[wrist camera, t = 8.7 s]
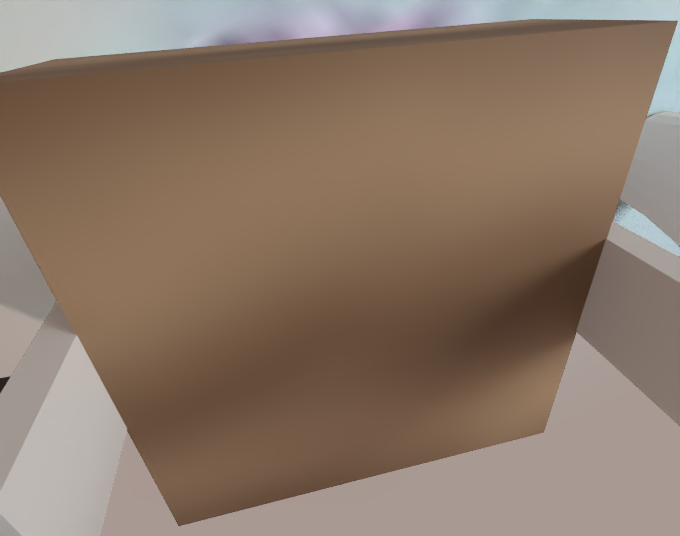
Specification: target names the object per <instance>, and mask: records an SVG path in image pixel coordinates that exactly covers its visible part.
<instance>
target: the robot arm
mask: <svg viewBox="0 0 680 536" xmlns="http://www.w3.org/2000/svg"><path fill="white" fill-rule="evenodd" d="M576 332H577V333H579V334H580V335H581V336H582V337H583V338H584V339H585V340H586V341H587V342H589V344H591V345H592V346H593V347H594V348H595V349H596V350H597V351H598V352H599V353H600V354H602V355H603V356H604V357H605V358H606V359H607V360H608V361H609V362H610V363H611V364H612V365H614V366H615V367H616V368H617V369H618V370H619V371H620V372H621V373H622V374H623V375H625V376H626V377H627V378H628V379H629V380H630V381H631V382H632V383H633V384H634V385H635V386H636V387H638V388H639V389H640V390H641V391H642V392H643V393H644V394H645V395H646V396H647V397H648V398H650V399H651V400H652V401H653V402H654V403H655V404H656V405H657V406H658V407H659V408H660V409H662V410H663V411H664V412H665V413H666V414H667V415H668V416H669V417H670V418H671V419H672V420H674V421H675V422H676V423H677V424H678V425H679V426H680V257H678V256H676V255H674V254H672V253H670V252H669V251H667V250H665V249H663V248H661V247H659V246H658V245H656V244H654V243H652V242H650V241H648V240H646V239H645V238H643V237H641V236H639V235H637V234H635V233H633V232H632V231H630V230H628V229H626V228H624V227H622V226H620V225H619V224H617V223H615V222H613V221H612V224H611V228H610V231H609V234H608V237H607V239H606V241H605V244H604V247H603V250H602V253H601V256H600V259H599V262H598V265H597V268H596V271H595V275H594V278H593V281H592V284H591V287H590V290H589V293H588V296H587V299H586V302H585V305H584V308H583V311H582V315H581V318H580V321H579V324H578V327H577V330H576ZM126 432H127V427H126V425H125V424H124V422H123V420H122V418H121V416H120V414H119V412H118V411H117V409H116V407H115V405H114V403H113V401H112V399H111V397H110V396H109V394H108V392H107V390H106V388H105V386H104V384H103V383H102V381H101V379H100V377H99V375H98V373H97V371H96V370H95V368H94V366H93V364H92V362H91V360H90V358H89V357H88V355H87V353H86V351H85V349H84V347H83V345H82V344H81V342H80V340H79V338H78V336H77V335H75V333H74V331H73V329H72V328H71V326H70V324H69V322H68V320H67V318H66V316H65V315H64V313H63V311H62V309H61V307H60V305H59V303H58V302H56V303H55V305H54V307H53V308H52V310H51V312H50V313H49V315H48V316H47V318H46V320H45V321H44V323H43V325H42V326H41V328H40V330H39V331H38V333H37V334H36V336H35V338H34V339H33V341H32V343H31V344H30V346H29V348H28V349H27V351H26V353H25V354H24V356H23V357H22V359H21V361H20V362H19V364H18V365H17V367H16V369H15V371H14V372H13V374H12V375H11V376H10V377H5V378H0V536H100V535H101V531H102V527H103V523H104V519H105V515H106V512H107V507H108V503H109V500H110V495H111V491H112V488H113V483H114V480H115V476H116V472H117V468H118V464H119V460H120V456H121V452H122V448H123V444H124V440H125V436H126Z"/></svg>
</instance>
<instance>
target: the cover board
mask: <svg viewBox="0 0 680 536" xmlns="http://www.w3.org/2000/svg"><path fill="white" fill-rule="evenodd" d="M677 22H678V21H645V20H552V19H530V20H518V21H506V22H494V23H482V24H470V25H458V26H447V27H435V28H423V29H411V30H399V31H387V32H375V33H363V34H351V35H339V36H328V37H316V38H304V39H292V40H280V41H268V42H256V43H244V44H232V45H220V46H209V47H197V48H185V49H173V50H161V51H149V52H137V53H125V54H113V55H102V56H90V57H78V58H66V59H55V60H51V61H47V62H42V63H38V64H34V65H30V66H26V67H22V68H18V69H14V70H10V71H6V72H2V73H0V196H1V198H2V200H3V202H4V204H5V205H6V207H7V209H8V211H9V213H10V215H11V216H12V218H13V220H14V222H15V224H16V226H17V228H18V229H19V231H20V233H21V235H22V237H23V239H24V241H25V242H26V244H27V246H28V248H29V250H30V252H31V253H32V255H33V257H34V259H35V261H36V263H37V265H38V266H39V268H40V270H41V272H42V274H43V276H44V278H45V279H46V281H47V283H48V285H49V287H50V289H51V291H52V292H53V294H54V296H55V298H56V300H57V302H58V303H59V305H60V307H61V309H62V311H63V313H64V315H65V316H66V318H67V320H68V322H69V324H70V326H71V328H72V329H73V331H74V333H75V335H77V336H78V338H79V340H80V342H81V344H82V345H83V347H84V349H85V351H86V353H87V355H88V357H89V358H90V360H91V362H92V364H93V366H94V368H95V370H96V371H97V373H98V375H99V377H100V379H101V381H102V383H103V384H104V386H105V388H106V390H107V392H108V394H109V396H110V397H111V399H112V401H113V403H114V405H115V407H116V409H117V411H118V412H119V414H120V416H121V418H122V420H123V422H124V424H125V425H126V427H127V431H128V433H129V435H130V437H131V439H132V440H133V442H134V444H135V446H136V448H137V450H138V452H139V453H140V455H141V457H142V459H143V461H144V463H145V465H146V466H147V468H148V470H149V472H150V474H151V476H152V478H153V479H154V481H155V483H156V485H157V487H158V489H159V490H160V492H161V494H162V496H163V498H164V500H165V502H166V503H167V505H168V507H169V509H170V511H171V513H172V514H173V516H174V518H175V520H176V522H177V524H178V526H181V525H185V524H189V523H193V522H197V521H200V520H204V519H208V518H212V517H216V516H220V515H224V514H227V513H232V512H236V511H239V510H243V509H247V508H251V507H255V506H259V505H263V504H267V503H271V502H274V501H278V500H282V499H286V498H290V497H294V496H298V495H302V494H306V493H310V492H313V491H317V490H321V489H325V488H329V487H333V486H337V485H341V484H344V483H348V482H352V481H356V480H360V479H364V478H368V477H372V476H376V475H380V474H383V473H387V472H391V471H395V470H399V469H403V468H407V467H411V466H414V465H419V464H422V463H426V462H430V461H434V460H438V459H442V458H446V457H450V456H454V455H458V454H461V453H465V452H469V451H473V450H477V449H481V448H484V447H489V446H492V445H496V444H500V443H504V442H508V441H512V440H516V439H520V438H524V437H527V436H531V435H535V434H539V433H543V432H544V430H545V427H546V424H547V421H548V418H549V415H550V412H551V408H552V405H553V402H554V399H555V396H556V393H557V390H558V387H559V384H560V381H561V378H562V375H563V372H564V369H565V365H566V362H567V359H568V356H569V353H570V350H571V347H572V344H573V341H574V338H575V335H576V330H577V327H578V324H579V321H580V318H581V315H582V311H583V308H584V305H585V302H586V299H587V296H588V293H589V290H590V287H591V284H592V281H593V278H594V275H595V271H596V268H597V265H598V262H599V259H600V256H601V253H602V250H603V247H604V244H605V241H606V239H607V237H608V234H609V231H610V228H611V224H612V221H613V218H614V215H615V212H616V209H617V206H618V203H619V200H620V197H621V194H622V191H623V188H624V185H625V181H626V178H627V175H628V172H629V169H630V166H631V163H632V160H633V157H634V154H635V151H636V148H637V145H638V142H639V139H640V135H641V132H642V129H643V126H644V123H645V120H646V117H647V114H648V111H649V108H650V105H651V102H652V99H653V96H654V92H655V89H656V86H657V83H658V80H659V77H660V74H661V71H662V68H663V65H664V62H665V59H666V56H667V53H668V49H669V46H670V43H671V40H672V37H673V34H674V31H675V28H676V25H677Z"/></svg>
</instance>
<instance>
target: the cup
mask: <svg viewBox="0 0 680 536" xmlns="http://www.w3.org/2000/svg"><path fill="white" fill-rule="evenodd" d="M620 200H622V201H623V202H625V203H626V204H628V205H629V206H631V207H632V208H634V209H635V210H637V211H639V212H640V213H642V214H643V215H644V216H646V217H647V218H648V219H649V220H650V221H651V222H653V223H654V224H655V225H656V226H657V227H658V228H660V229H661V230H662V231H663V232H664V233H665V234H666V235H668V236H669V237H670V238H671V239H672V240H673V241H674V242H675V243H676V244H677V245H678V246H679V247H680V113H674V112H662V113H658V114H654V115H652V116H650V117H648V118H646V120H645V123H644V126H643V129H642V132H641V135H640V139H639V142H638V145H637V148H636V151H635V154H634V157H633V160H632V163H631V166H630V169H629V172H628V175H627V178H626V181H625V185H624V188H623V191H622V194H621V197H620Z"/></svg>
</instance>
